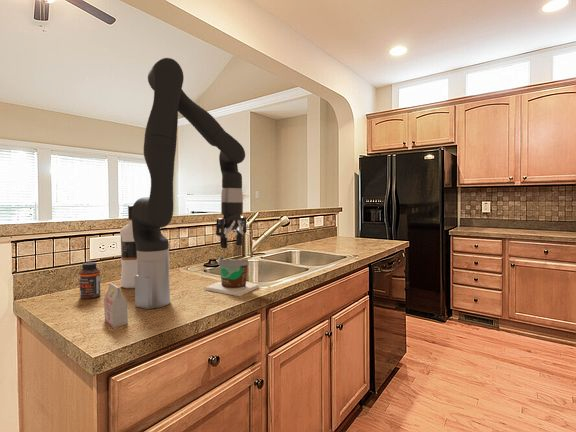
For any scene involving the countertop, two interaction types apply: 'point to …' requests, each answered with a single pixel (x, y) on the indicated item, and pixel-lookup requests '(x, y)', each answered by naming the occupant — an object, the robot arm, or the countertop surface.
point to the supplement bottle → (89, 281)
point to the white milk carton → (115, 307)
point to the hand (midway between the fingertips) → (232, 246)
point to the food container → (233, 272)
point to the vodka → (128, 254)
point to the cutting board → (232, 291)
